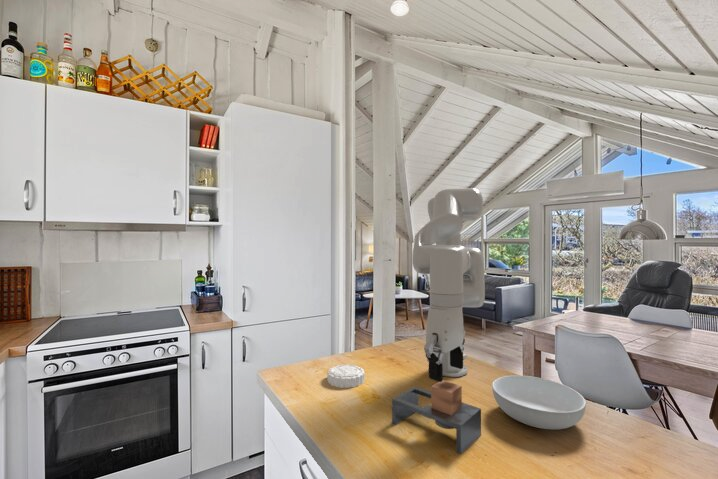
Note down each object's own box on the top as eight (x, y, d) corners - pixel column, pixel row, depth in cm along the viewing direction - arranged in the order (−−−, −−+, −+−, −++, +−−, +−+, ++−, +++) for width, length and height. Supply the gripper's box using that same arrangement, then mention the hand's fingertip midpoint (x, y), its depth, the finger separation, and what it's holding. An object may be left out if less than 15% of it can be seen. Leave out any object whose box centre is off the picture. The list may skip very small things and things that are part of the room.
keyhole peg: (442, 414, 83) (442, 379, 83) (462, 422, 79) (462, 385, 79) (430, 423, 79) (430, 386, 79) (451, 431, 76) (451, 393, 76)
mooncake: (371, 384, 107) (371, 373, 107) (335, 391, 102) (335, 379, 102) (355, 371, 118) (355, 361, 118) (322, 377, 113) (322, 366, 113)
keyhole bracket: (392, 423, 84) (392, 398, 84) (415, 409, 91) (415, 386, 91) (460, 454, 71) (460, 425, 71) (481, 435, 79) (481, 408, 79)
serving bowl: (533, 449, 73) (533, 416, 74) (475, 404, 94) (475, 379, 94) (608, 434, 79) (608, 404, 79) (538, 395, 99) (538, 371, 99)
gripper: (449, 293, 88) (449, 359, 89) (411, 303, 76) (411, 380, 76) (477, 296, 83) (478, 366, 84) (441, 308, 71) (442, 391, 71)
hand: (446, 373), depth 80 cm, fingers open, 9 cm apart
